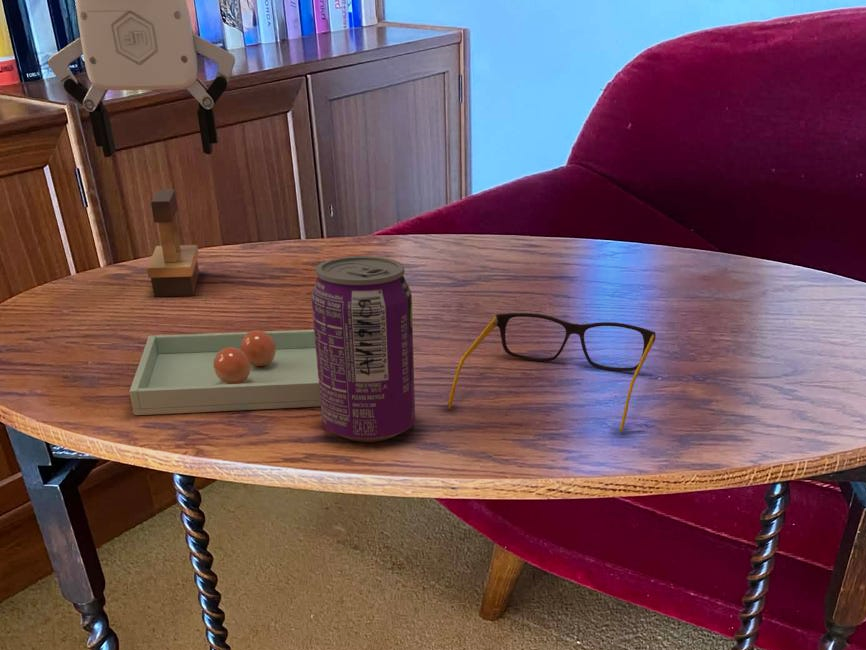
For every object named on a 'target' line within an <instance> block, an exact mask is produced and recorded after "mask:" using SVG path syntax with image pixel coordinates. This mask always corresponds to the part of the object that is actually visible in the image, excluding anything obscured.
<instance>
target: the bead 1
mask: <svg viewBox="0 0 866 650" xmlns="http://www.w3.org/2000/svg"><path fill="white" fill-rule="evenodd" d="M213 366H214V371H215V373H216V375H217V377H218V378H219V379H220V380H221V381H223V382H224V383H226V384H240V383H242V382H244V381H245V380H246V379H247V378H248V376H249V375H250V371H251V363H250V360H249V358H248V356H247V355H246V353H245V352H243V351H242V350H240V349H238V348H235V347H227V348H224V349H222V350H220V351H219V352H218V353H217V354H216V356H215V358H214V363H213Z"/></svg>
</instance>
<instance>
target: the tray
mask: <svg viewBox="0 0 866 650" xmlns="http://www.w3.org/2000/svg"><path fill="white" fill-rule="evenodd" d="M249 332H250V331H238V332H237V331H235V332H212V333H210V332H209V333H208V332H207V333H184V334H183V333H182V334H180V333H179V334H157V335H156V334H155V335H148V337H147V340H146V343H145V346H144V348H143V352H142V354H141V357H140V360H139V363H138V367H137V368H136V371H135V374H134V376H133V380H132V383H131V385H130V389H129V392H128V393H129V397H130V401H131V406H132V411H133V416H148V415H149V416H151V415H170V414H193V413H211V412H215V413H216V412H229V411H230V412H235V411H252V410H253V411H254V410H276V409H294V408H296V409H297V408H319V407H321V403H320V391H319V380H318V368H317V357H316V345H315V333H314V329H292V330H271V331H270V330H265V331H264V332H266V333H267V334H269V335H270V336H271V337H272V339H273V340H274V342H275V345H276V354H275V357H274V359H273V360H272V362H271V363H269V364H268V365H266V366H262V367H256V366H253V365H251V371H250V375H249V376H248V378H247V379H246V380H245V381H244V382H242V383H240V384H226V383H224V382H223V381H221V380H220V379H219V378H218V377H217V375H216V373H215V371H214V366H213V363H214V358H215V356H216V354H217V353H218V352H219V351H220V350H222V349H224V348H227V347H235V348H238V349H240V345H241V341H242V339H243V337H244V336H245V335H246V334H247V333H249Z"/></svg>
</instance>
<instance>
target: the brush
mask: <svg viewBox="0 0 866 650" xmlns="http://www.w3.org/2000/svg"><path fill="white" fill-rule="evenodd" d="M150 207H151V212H152V217H153V222H154V223H155V224H156V223H157V227H158V233H159V240H160V245H156V246H155V248H154V251H153V253H152V255H151V257H150V260H149V262H148V265H147V267H146V273H147V277H148V278H149V279H150V280H151V288H152V292H153V298H161V297H162V298H163V297H164V298H165V297H167V298H168V297H192V296H194V294H195V292H196V287H197V284H198V280H199V276H200V268H199V267H200V266H199V262H198V258H199V248H198V245H197V244H184V245H183V244H181V241H180V236H179V228H178V224H177V223H178V222H177V216H176V214H177V211H178V203H177V197H176V191H175V189H174V188H168V189H166V188H165V189H163V188H162V189H161V188H160V189H156V191H155V192H154V195H153V197H152V199H151V200H150Z"/></svg>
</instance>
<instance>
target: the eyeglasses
mask: <svg viewBox="0 0 866 650" xmlns="http://www.w3.org/2000/svg"><path fill="white" fill-rule="evenodd" d="M525 317H526V318H537V319H542V320H547V321H551V322H554V323H556V324H558V325H560V326H562V327H563V328H564V330H565V335H564V338H563V341H562V343H561V346H560V348H559V349H558V351H557V352H556V354H554V355H553V356H551V357H533V356H528V355H522V354H519V353H515V352H513V351H511V350H510V349H509V348H508V346H507V340H506V330H507V325H508V322H509V321H510V319H512V318H525ZM496 327H497V328H498V329H499V334H500V339H501V345H502V349H503V351H504V352H505V353H506V354H507V355H509V356H511V357H514V358H517V359H522V360H526V361H527V360H528V361H533V362H552V361H554V360H556V359H557V358H558V357H559V356H560V354H561V353H562V352H563V350H564V348H565V346H566V344H567V342H568V340H569V338H570V336H571V335H577V336H579V339H580V344H581V348H582V352H583V354H584V356H585V358H586V360H587V362H588V364H590V366H592V367H595V368H598V369H601V370H604V371H605V370H606V371H614V372H632V371H633V372H634V373H633V375H632V378H631V381H630V384H629V387H628V392H627V395H626V400H625V404H624V409H623V412H622V417H621V421H620V425H619V426H620V427H619V432H620V433H623V431H624V427H625V423H626V419H627V415H628V414H627V413H628V409H629V404H630V399H631V396H632V393H633V392H632V391H633V388H634V385H635V382H636V380H637V377H638V375H639V373H640V371H641V370H642V367H643V365H644V363H645V361H646V358H647V357H648V355H649V353H650V351H651V349H652V347H653V346H654V343H655V341H656V336H657V333H656V331H653V330H650V329H647V328H643V327H640V326H636V325H633V324H628V323H621V322H611V321H609V322H608V321H605V322H602V321H601V322H593V323H583V324H581V323H572V322H569V321H565V320H562V319H560V318H557V317H554V316H550V315H546V314H542V313H531V312H510V313H508V312H507V313H497V314H496V315H495V316H494V318H493V319H492V320H490V322H489V323H488V324H487V325H486V327H485V328H484V329H483V330H482V332H481V333H480V334H479V335H478V337H476V339H475V340H474V342H473V343H472V344H471V345H470V347H468V349H467V350H466V351H465V352H464V354H463V355H462V357H461V359H460V361H459V363H458V366H457V368H456V371H455V374H454V378H453V382H452V385H451V390H450V393H449V397H448V400H447V408H448V409H451V408H452V406H453V402H454V398H455V392H456V389H457V384H458V380H459V376H460V373H461V370H462V367H463V365H464V363H465V361H466V359H467V358H468V357H470V355H471V354H472V353H473V352H474V351H475V349H476V348H478V346H479V345H480V344H481V343H482V342H483V341H484V340H485V338H486V337H487V336H489V334H491V332H493V331H494V330H495V328H496ZM598 327H616V328H623V329H624V328H625V329H629V330H633V331H636V332H638V333H639V334H641V336H642V340H643V348H642V354H641V356H640V357H641V358H640V359H639V362H638V363H637V364H636V365H634V366H630V367H613V366H606V365H602V364H599V363H597V362H594V361H593V360H592V359H591V357H590V355H589V353H588V350H587V346H586V342H585V333H586V332H587V330H589V329H593V328H598Z"/></svg>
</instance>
